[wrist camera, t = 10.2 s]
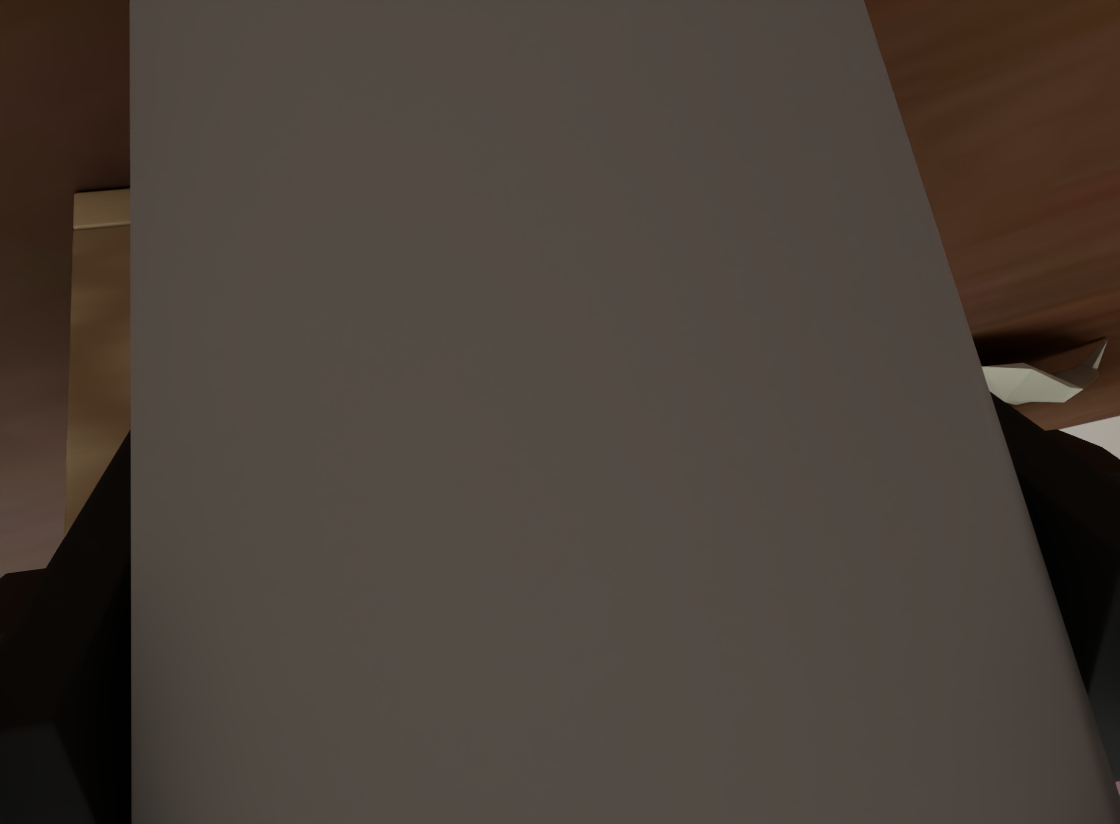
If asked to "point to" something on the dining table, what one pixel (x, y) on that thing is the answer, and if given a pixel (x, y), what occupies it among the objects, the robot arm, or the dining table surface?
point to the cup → (566, 432)
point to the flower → (1041, 385)
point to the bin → (98, 342)
